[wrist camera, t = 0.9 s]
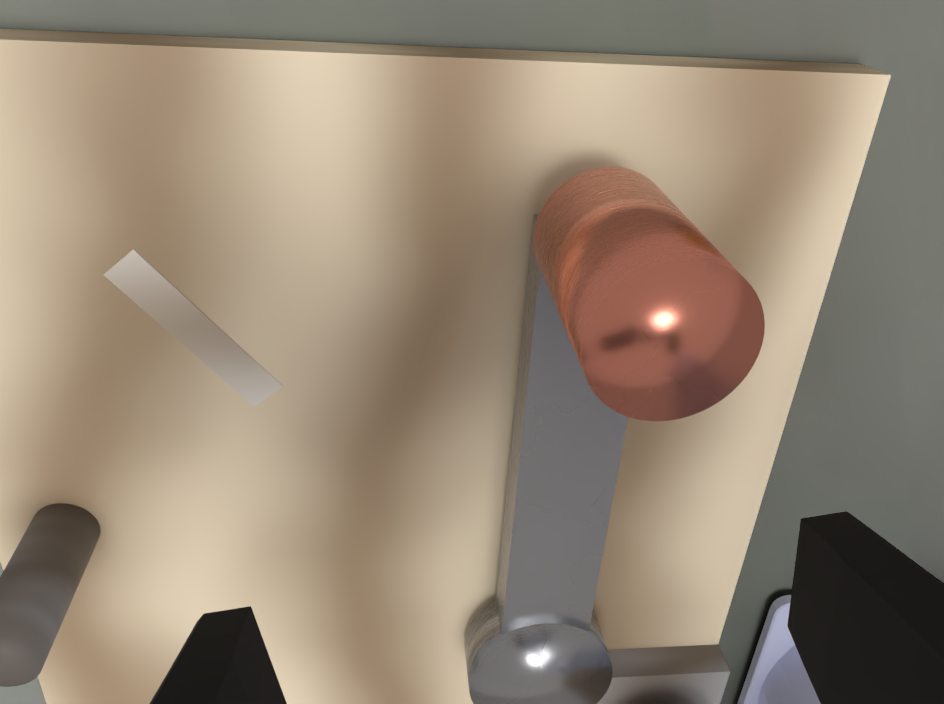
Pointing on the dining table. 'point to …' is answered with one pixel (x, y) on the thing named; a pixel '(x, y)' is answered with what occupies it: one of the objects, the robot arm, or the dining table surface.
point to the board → (364, 346)
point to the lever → (596, 413)
